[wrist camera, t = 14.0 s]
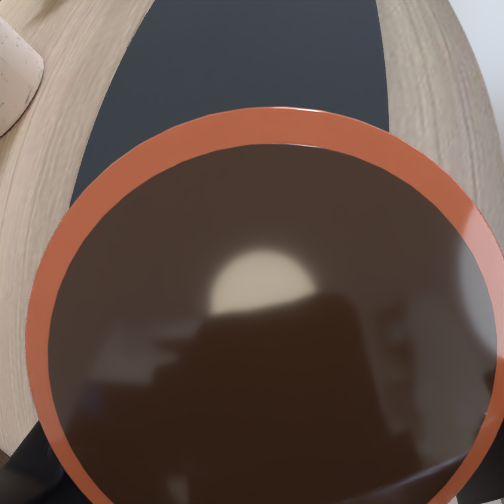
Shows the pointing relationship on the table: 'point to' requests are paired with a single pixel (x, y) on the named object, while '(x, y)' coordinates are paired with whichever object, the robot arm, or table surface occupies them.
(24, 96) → the teacup with lid
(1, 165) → the table surface
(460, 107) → the table surface
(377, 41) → the desk mat
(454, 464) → the cup
